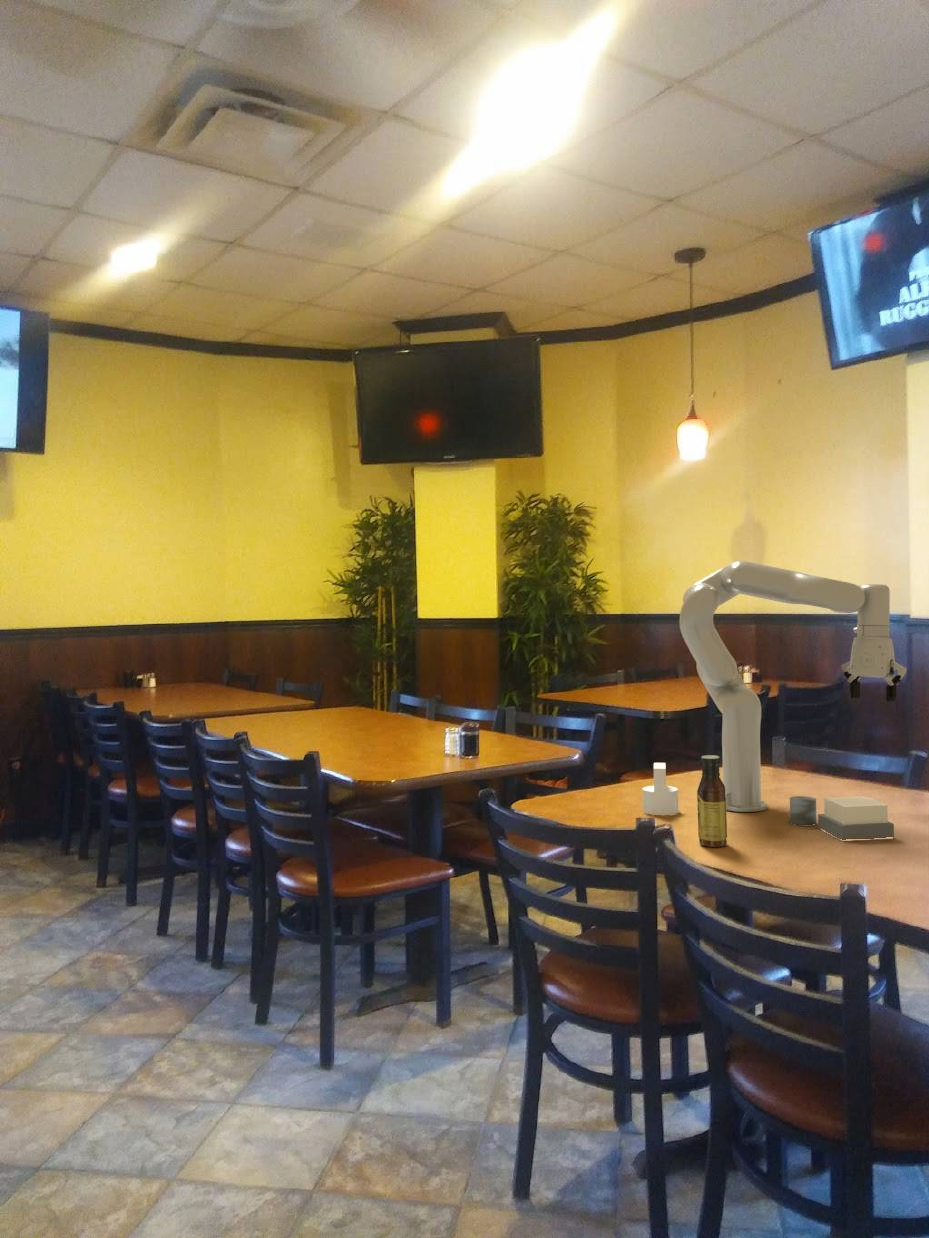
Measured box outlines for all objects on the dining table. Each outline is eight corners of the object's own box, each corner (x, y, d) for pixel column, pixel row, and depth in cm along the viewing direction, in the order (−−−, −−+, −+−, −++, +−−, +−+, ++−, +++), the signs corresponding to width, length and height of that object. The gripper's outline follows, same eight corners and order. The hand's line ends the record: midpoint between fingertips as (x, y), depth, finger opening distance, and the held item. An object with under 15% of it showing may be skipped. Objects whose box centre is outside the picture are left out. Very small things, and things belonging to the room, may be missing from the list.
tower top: (844, 824, 215) (844, 807, 215) (824, 815, 225) (824, 798, 225) (887, 822, 216) (887, 805, 216) (865, 813, 226) (865, 796, 226)
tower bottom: (842, 843, 214) (842, 826, 214) (818, 831, 226) (818, 814, 226) (894, 841, 215) (893, 823, 215) (867, 828, 227) (867, 812, 227)
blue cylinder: (796, 826, 228) (796, 801, 228) (786, 821, 234) (785, 796, 234) (820, 825, 229) (820, 800, 229) (809, 820, 235) (809, 795, 235)
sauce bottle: (706, 839, 218) (704, 752, 218) (732, 843, 214) (730, 755, 214) (693, 846, 213) (691, 756, 213) (719, 850, 209) (717, 759, 209)
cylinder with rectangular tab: (678, 816, 242) (677, 768, 242) (642, 815, 244) (641, 768, 244) (678, 808, 251) (677, 762, 251) (643, 807, 253) (642, 762, 252)
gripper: (834, 631, 250) (833, 697, 250) (897, 633, 236) (897, 703, 237) (850, 631, 254) (850, 695, 255) (913, 633, 241) (913, 701, 241)
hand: (872, 699), depth 246 cm, fingers open, 9 cm apart
